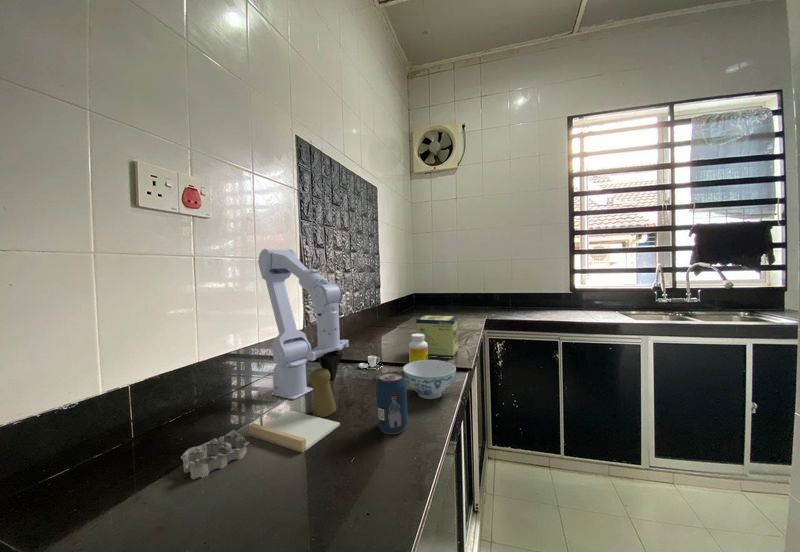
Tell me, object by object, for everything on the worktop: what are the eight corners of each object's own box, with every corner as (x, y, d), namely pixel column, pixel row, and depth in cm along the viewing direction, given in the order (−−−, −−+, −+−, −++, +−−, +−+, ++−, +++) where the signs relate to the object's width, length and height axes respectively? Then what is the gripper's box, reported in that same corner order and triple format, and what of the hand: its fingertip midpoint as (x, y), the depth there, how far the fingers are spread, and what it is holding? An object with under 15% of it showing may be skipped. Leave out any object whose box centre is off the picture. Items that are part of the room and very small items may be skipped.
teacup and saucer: (356, 370, 113) (356, 359, 113) (363, 364, 121) (362, 353, 121) (380, 371, 112) (379, 360, 112) (385, 364, 120) (384, 354, 120)
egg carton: (192, 485, 55) (191, 463, 54) (179, 469, 59) (178, 448, 59) (251, 456, 63) (250, 436, 62) (236, 444, 67) (235, 425, 67)
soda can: (393, 417, 76) (391, 369, 76) (413, 427, 71) (412, 375, 71) (371, 428, 71) (369, 376, 71) (391, 439, 67) (390, 384, 66)
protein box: (454, 359, 122) (452, 320, 122) (416, 356, 128) (415, 319, 127) (458, 352, 132) (457, 315, 132) (423, 350, 137) (422, 315, 137)
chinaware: (431, 411, 79) (430, 381, 79) (393, 394, 90) (392, 368, 90) (467, 393, 89) (466, 367, 89) (429, 380, 100) (428, 357, 100)
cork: (330, 417, 77) (325, 376, 75) (308, 416, 78) (302, 376, 77) (340, 403, 83) (334, 365, 81) (319, 403, 84) (313, 365, 82)
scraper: (249, 435, 70) (248, 425, 70) (290, 412, 81) (290, 403, 81) (302, 452, 63) (302, 441, 63) (339, 425, 73) (339, 415, 73)
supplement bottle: (429, 374, 106) (428, 336, 106) (409, 374, 106) (408, 337, 106) (427, 367, 113) (426, 332, 113) (409, 368, 113) (408, 333, 113)
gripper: (321, 335, 74) (323, 392, 74) (356, 325, 87) (358, 373, 87) (299, 334, 77) (301, 388, 78) (336, 323, 90) (338, 370, 91)
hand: (330, 380), depth 83 cm, fingers closed
